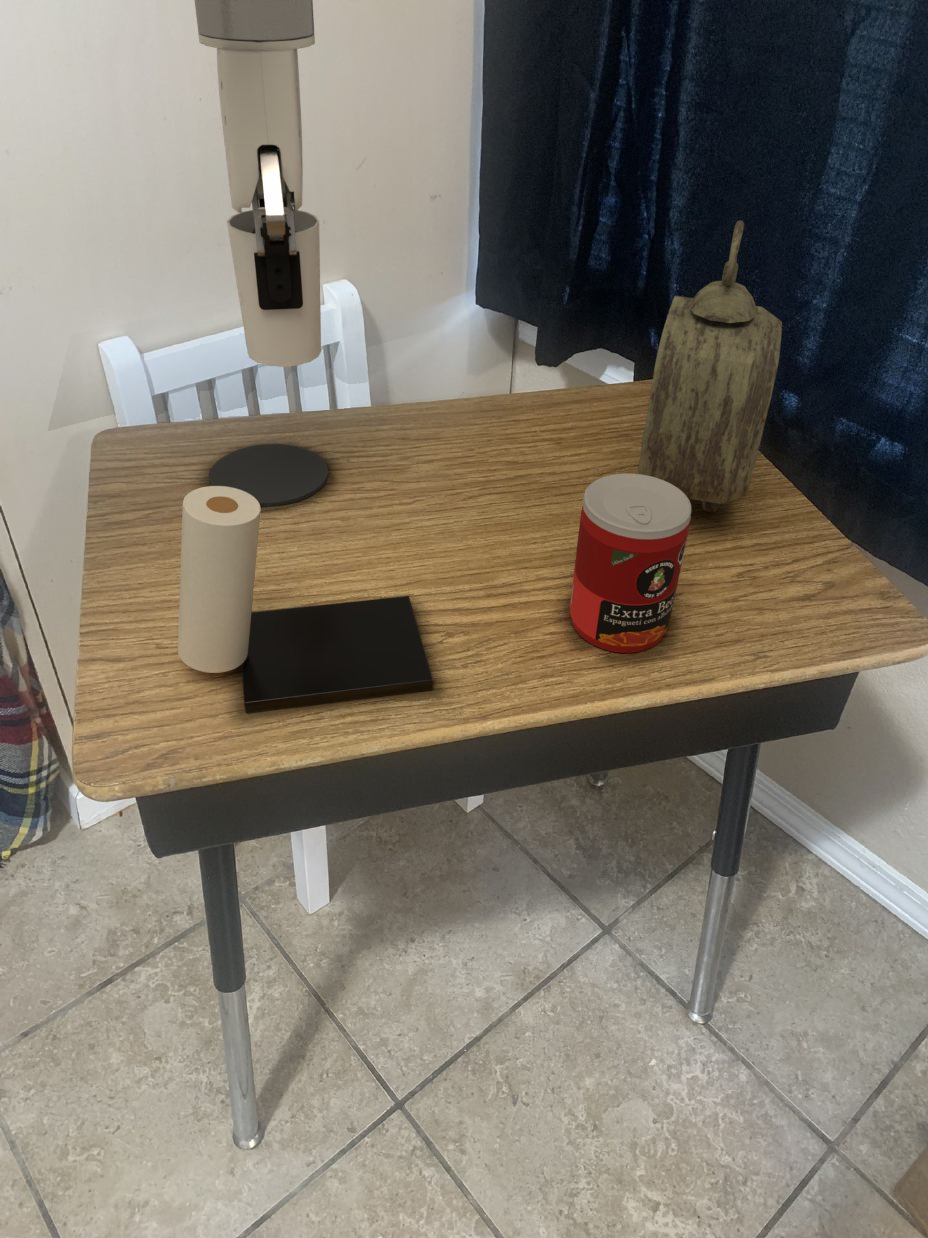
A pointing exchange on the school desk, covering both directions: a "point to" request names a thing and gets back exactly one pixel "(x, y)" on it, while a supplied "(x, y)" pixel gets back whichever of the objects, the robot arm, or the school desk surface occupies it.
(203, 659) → the towel roll
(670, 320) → the wooden cowbell
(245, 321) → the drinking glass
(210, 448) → the school desk surface
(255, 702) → the thin black tile
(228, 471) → the coaster
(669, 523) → the canned food
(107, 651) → the school desk surface
